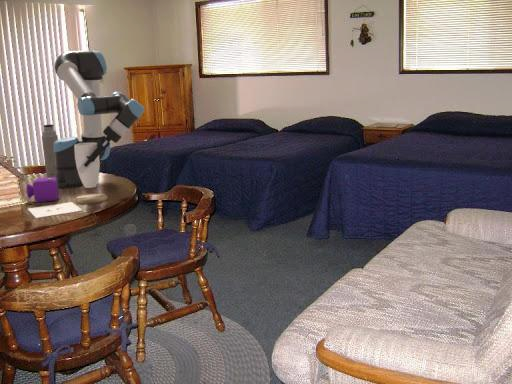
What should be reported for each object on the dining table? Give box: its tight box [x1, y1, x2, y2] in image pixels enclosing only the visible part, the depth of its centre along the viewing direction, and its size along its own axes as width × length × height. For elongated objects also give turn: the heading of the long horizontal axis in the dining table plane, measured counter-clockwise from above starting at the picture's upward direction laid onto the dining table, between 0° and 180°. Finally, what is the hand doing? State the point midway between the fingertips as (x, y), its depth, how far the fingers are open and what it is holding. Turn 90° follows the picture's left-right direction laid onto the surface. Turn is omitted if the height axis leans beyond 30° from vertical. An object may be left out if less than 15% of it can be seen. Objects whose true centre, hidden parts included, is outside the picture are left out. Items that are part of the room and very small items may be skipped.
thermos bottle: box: [41, 124, 59, 178], centre depth 299 cm, size 8×8×28 cm
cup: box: [74, 143, 101, 189], centre depth 239 cm, size 10×10×22 cm
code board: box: [27, 201, 84, 219], centre depth 227 cm, size 18×18×1 cm
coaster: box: [75, 193, 108, 205], centre depth 241 cm, size 13×13×2 cm
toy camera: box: [25, 177, 60, 203], centre depth 244 cm, size 11×14×10 cm
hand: (81, 169), depth 238 cm, fingers closed on cup, 10 cm apart
